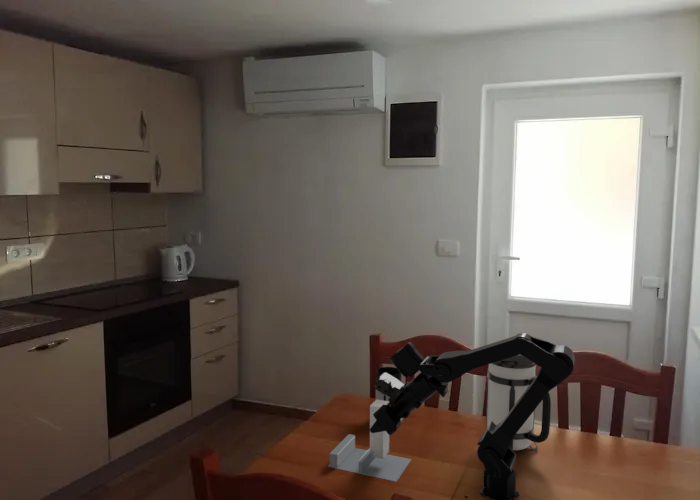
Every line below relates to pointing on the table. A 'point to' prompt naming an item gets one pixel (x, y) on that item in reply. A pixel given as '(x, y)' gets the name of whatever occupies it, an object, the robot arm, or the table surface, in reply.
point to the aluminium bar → (378, 433)
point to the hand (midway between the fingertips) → (374, 427)
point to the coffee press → (514, 398)
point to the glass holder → (391, 371)
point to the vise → (366, 461)
